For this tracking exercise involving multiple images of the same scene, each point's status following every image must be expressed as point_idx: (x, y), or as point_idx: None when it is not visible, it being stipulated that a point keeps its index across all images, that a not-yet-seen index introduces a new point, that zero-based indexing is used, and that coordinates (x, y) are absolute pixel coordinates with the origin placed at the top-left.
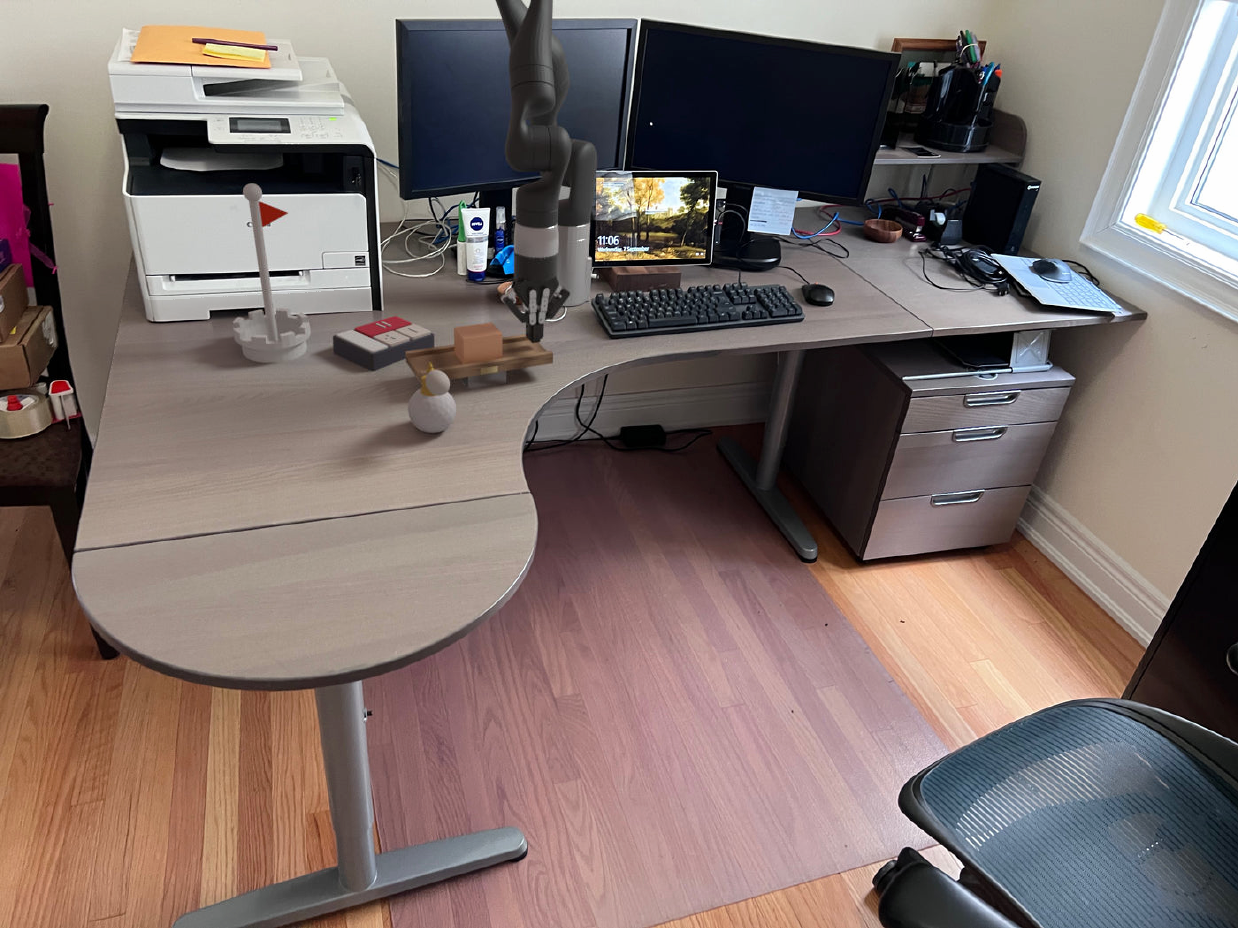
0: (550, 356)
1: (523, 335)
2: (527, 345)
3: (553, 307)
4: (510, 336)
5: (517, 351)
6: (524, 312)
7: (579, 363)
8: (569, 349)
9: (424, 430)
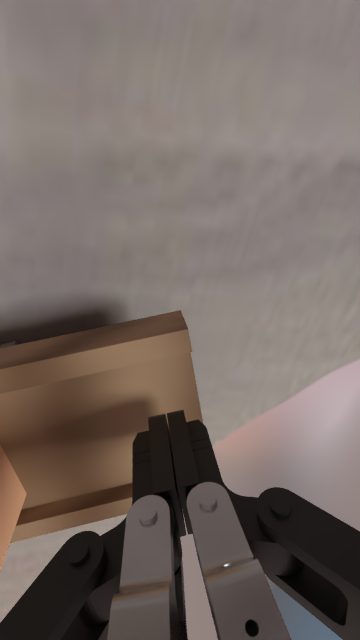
0: None
1: (136, 350)
2: (142, 394)
3: (325, 624)
4: (69, 356)
5: (92, 440)
6: (123, 556)
7: (306, 344)
8: (320, 239)
9: None
